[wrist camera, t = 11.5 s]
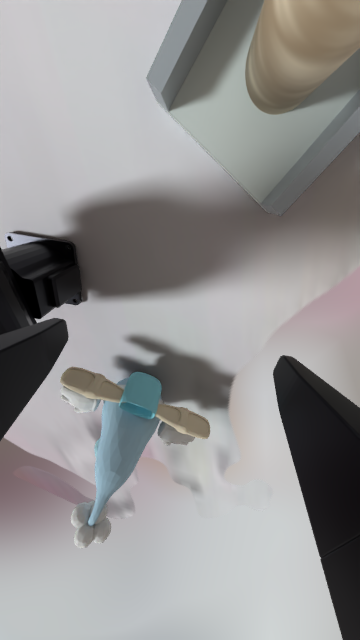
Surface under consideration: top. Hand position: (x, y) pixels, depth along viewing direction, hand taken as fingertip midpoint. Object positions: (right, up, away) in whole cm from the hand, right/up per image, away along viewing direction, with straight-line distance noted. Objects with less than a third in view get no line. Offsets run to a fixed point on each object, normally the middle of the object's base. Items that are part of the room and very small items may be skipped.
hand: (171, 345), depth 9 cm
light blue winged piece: (-5, -8, +21) cm, 23 cm away
